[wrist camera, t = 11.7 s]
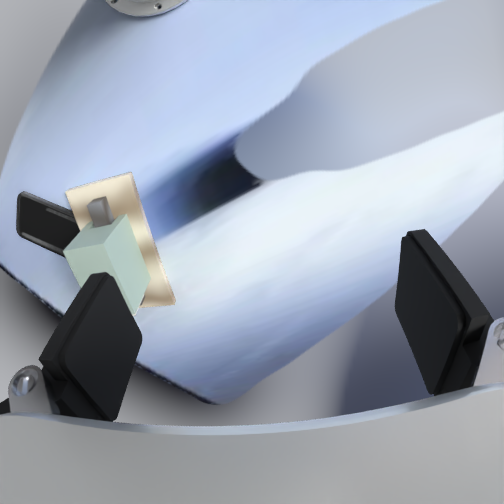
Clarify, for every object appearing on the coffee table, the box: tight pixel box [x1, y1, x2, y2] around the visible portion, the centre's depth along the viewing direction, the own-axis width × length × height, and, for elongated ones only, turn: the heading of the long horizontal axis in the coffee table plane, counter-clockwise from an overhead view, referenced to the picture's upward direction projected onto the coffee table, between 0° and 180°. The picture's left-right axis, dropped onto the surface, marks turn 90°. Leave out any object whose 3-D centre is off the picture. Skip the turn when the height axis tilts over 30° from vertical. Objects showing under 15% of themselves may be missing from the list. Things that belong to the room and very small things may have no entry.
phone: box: [16, 191, 80, 258], centre depth 41 cm, size 8×1×15 cm
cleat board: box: [66, 172, 176, 308], centre depth 41 cm, size 20×10×3 cm, turn 10°
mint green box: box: [63, 214, 151, 316], centre depth 39 cm, size 11×6×8 cm, turn 10°
